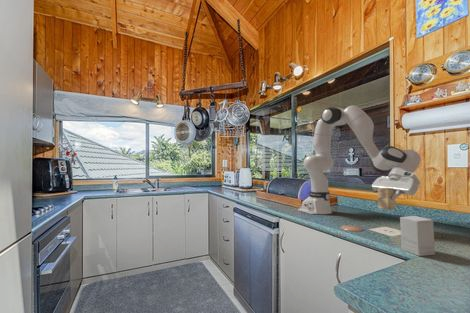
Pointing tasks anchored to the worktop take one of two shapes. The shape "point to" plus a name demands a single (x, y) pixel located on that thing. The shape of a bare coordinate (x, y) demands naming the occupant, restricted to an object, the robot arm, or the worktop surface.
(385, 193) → the maple block
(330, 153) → the robot arm
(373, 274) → the worktop surface
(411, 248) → the supplement box
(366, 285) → the worktop surface
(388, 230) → the card
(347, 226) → the coaster
